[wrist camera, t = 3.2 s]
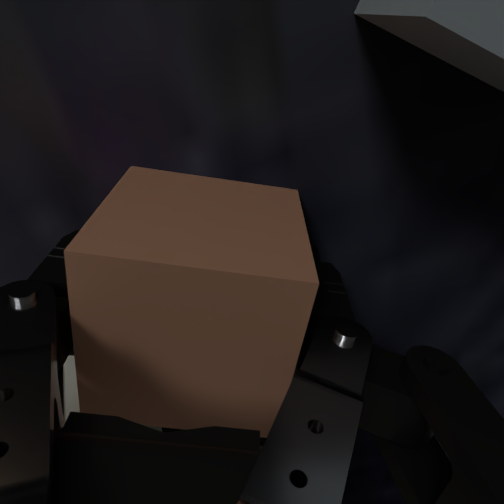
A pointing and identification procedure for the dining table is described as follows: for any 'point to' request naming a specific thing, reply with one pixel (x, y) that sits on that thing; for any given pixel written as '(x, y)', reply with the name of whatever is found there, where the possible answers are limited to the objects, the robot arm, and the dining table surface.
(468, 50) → the blue-grey cube
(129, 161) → the dining table surface
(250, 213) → the terracotta cube
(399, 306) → the dining table surface
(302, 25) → the dining table surface
